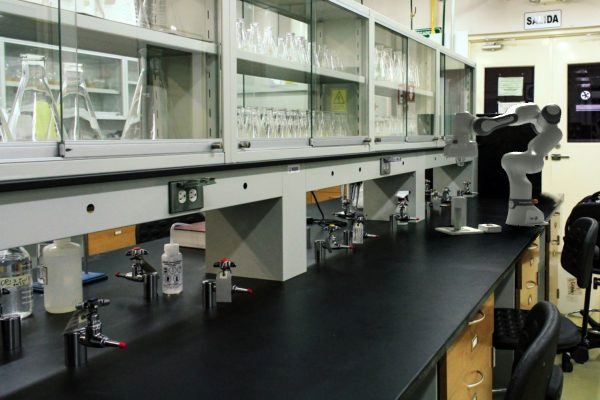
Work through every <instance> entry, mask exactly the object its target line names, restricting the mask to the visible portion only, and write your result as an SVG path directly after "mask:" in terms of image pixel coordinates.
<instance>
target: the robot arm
mask: <svg viewBox="0 0 600 400" xmlns="http://www.w3.org/2000/svg"><path fill="white" fill-rule="evenodd" d="M562 112H563V111H562V108H561V106H559V105H558V104H556V103H553V102H552V103H548V104H546V105H545V106H543V107H542V108H540V106H539V105H538V104H537V103H535V102H528V103H522V104H517V105H513V106H511V107H509V108H507V109H506V110H505V112H504V114H500V115H498V116H494V117H488V116H481V117H478V116H475V115H473V114H471V113H470V112H469V111H460V112H457V113H456V114H454V117H453V118H454V120H453V134H452V135H453V137H451V138H448V139H446V140H445V141H444V144H445V145H444V146H443V157H444V158H447V159H448V158H455V160H456V162H457V165H456V166H459V167H460V166H461V167H463V166H464V165H465V161H466V158H477V157H479V149H478V142H477V141H476V140H470V135H473V136H482V137H484V136H488V135H490V134H491V133H492V132H494V131H495V130H496V129H501V128H504V127H506V126H510V127H511V126H512V127H513V126H515V127H516V126H520V125H524V124H529V123H530V127H531V128H532V129H533V131H534V133H535V134H536V136H535V137H534V138H532V139H531V140H530V141H529V142H528V144H527V150H526V151H524V152H523V151H522V152H520V151H519V152H518V151H513V152H508V153H505V154H503V156H502V158H501V159H500V160H501V161H500V162H501V167H502V169H504V171H505V172H506V174H507V177H508V181H509V199H508V214H507V216H506V217H507V218H506V222H505V224H507V225H511V226H518V225H519V226H520V227H523V226H524V227H536V226H535V225H540V226H547V225H549V222H548V221H545V215H544V212H542V211H541V210H540V209H539V208H538V207H536V206H535V204H538V202H539V201H538V199H533V198H532V194H533V193H532V191H533V190H532V189H533V185H532V182H531V181H530V180H529V179H528V177H527V176H526V175H527V174H536V173H540V172H541V171H542V170H543V169H544V166H545V160H544V159H545V157H546V156H547V155H548V154H549V153H550V152H551V151H553V149H555V148H556V146H558V144H559V143H560V142H561V140H562V139H563V131H562V129H561V128H559V126H558V125H559V124H560V123H561V118H562V114H563V113H562ZM460 160H461V161H460Z"/></svg>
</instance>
